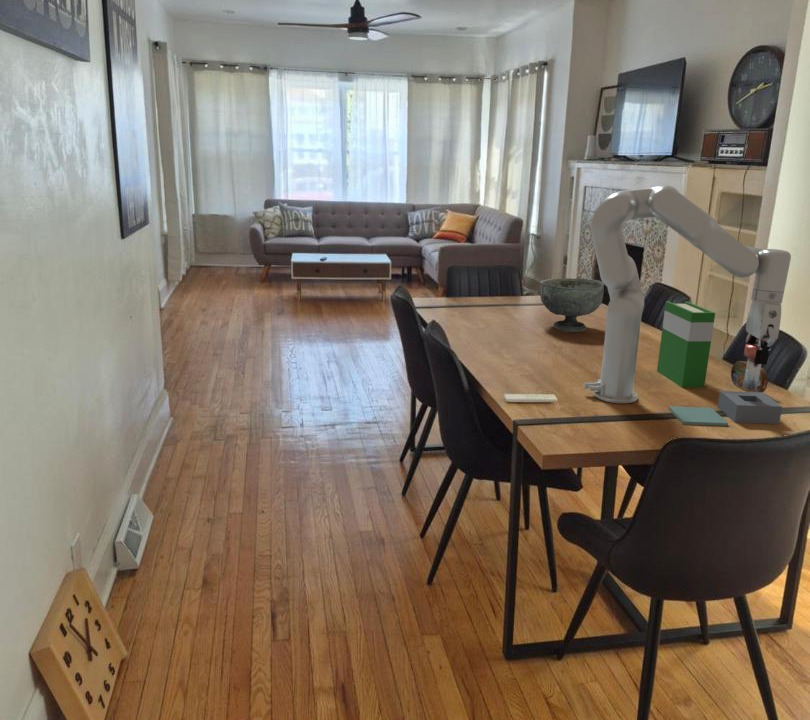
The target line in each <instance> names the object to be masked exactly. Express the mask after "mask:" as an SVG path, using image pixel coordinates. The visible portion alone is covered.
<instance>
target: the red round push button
mask: <svg viewBox="0 0 810 720" xmlns="http://www.w3.org/2000/svg"><path fill="white" fill-rule="evenodd" d="M757 349H758V344H753V343H749V344H746V343H745V346H744V350H743V351H744V352H743V357H744V356H745V357H744V358H747V361H746V362H747V366H746V371H745V376H744V381H743V386H742V387H743V388H745V389H749V390H756V389H757V385H758V380H759V375H760V369H761V368H762V364H755V363H754V360H755V355H756V350H757Z"/></svg>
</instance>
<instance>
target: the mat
mask: <svg viewBox="0 0 810 720" xmlns="http://www.w3.org/2000/svg"><path fill="white" fill-rule="evenodd" d="M668 410H669V411H670V412H671V413H672V414H673V416H675V419H677V420H678V421H679V422H680V423H681V424H682V425H691V426H693V425H695V426H697V425H698V426H716V427H717V426H719V427H720V426H721V427H723V426H724V427H729V422H728V421H726V419H724V418H723V417H722V416H721V415H720V413H718V412H717V411H716V410H715V409H713V408H712V407H700V406H699V407H698V406H697V407H696V406H694V407H692V406H670V405H669V406H668Z"/></svg>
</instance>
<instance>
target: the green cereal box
mask: <svg viewBox="0 0 810 720" xmlns="http://www.w3.org/2000/svg"><path fill="white" fill-rule="evenodd" d="M715 317H716V312H714V311H712V310H709V309H707V308H704V307H702V306H700V305H697V304H695V303H692V302H689V301H684V302H683V303H673V302H671V301H668V300H666V301H665V305H664V313H663V322H662V327H661V328H662V330H661V336H660V344H659V352H658V360H657V367H656V368H657V369H656V372H658V373H659V374H660V375H663V376H664V377H666V378H667V379H668V380H669V381H671V382H673V383H674V384H675V385H677V386H678V387H680V388H682V389H684V388H685V387H687V389H688V388H691V387H692V388H705V385H706V378H707V372H708V365H709V358H710V350H711V346H712V345H711V343H712V337H713V331H714V325H715V324H714V323H715Z"/></svg>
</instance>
